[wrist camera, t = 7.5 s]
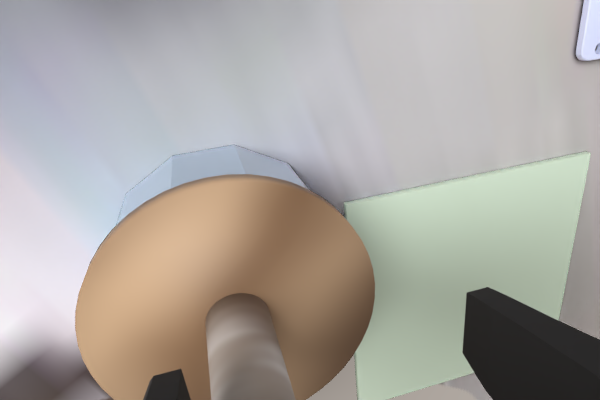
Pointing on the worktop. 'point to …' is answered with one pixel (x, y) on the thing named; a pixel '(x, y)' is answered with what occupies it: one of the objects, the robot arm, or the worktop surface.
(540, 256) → the mat
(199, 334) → the lid
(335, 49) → the worktop surface
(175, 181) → the bowl
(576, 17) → the worktop surface
